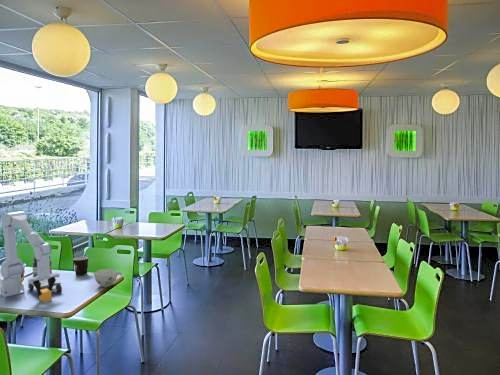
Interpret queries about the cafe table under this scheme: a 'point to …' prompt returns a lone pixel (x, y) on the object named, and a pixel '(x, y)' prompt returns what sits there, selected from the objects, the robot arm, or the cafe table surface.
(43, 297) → the chock
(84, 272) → the coffee mug
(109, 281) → the teacup
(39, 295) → the robot arm
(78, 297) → the cafe table surface
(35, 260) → the supplement container
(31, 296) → the cafe table surface
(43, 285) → the trolley
